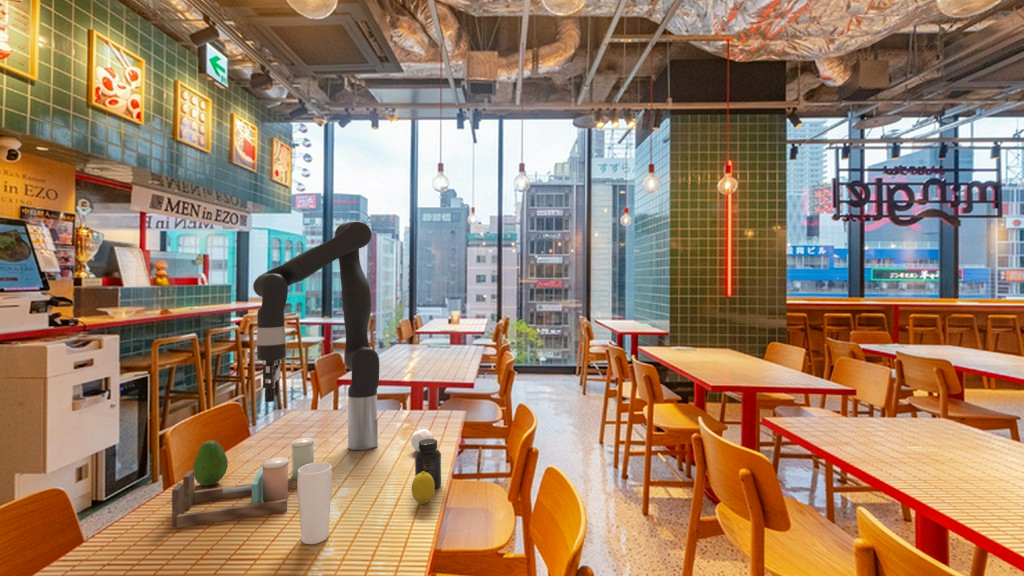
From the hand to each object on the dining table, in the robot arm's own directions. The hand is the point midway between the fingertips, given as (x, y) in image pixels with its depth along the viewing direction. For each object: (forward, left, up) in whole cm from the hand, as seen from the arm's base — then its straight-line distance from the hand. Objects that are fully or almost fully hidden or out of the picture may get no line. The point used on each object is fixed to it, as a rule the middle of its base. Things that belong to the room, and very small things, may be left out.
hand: (272, 398), depth 136 cm
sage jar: (-8, +7, -21) cm, 24 cm away
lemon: (-37, +37, -21) cm, 57 cm away
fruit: (+15, +5, -21) cm, 26 cm away
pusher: (+5, +22, -21) cm, 30 cm away
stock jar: (-3, +22, -21) cm, 30 cm away
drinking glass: (-13, +45, -21) cm, 51 cm away
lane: (+5, +22, -21) cm, 30 cm away
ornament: (-43, -1, -21) cm, 48 cm away
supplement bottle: (-40, +27, -21) cm, 53 cm away
